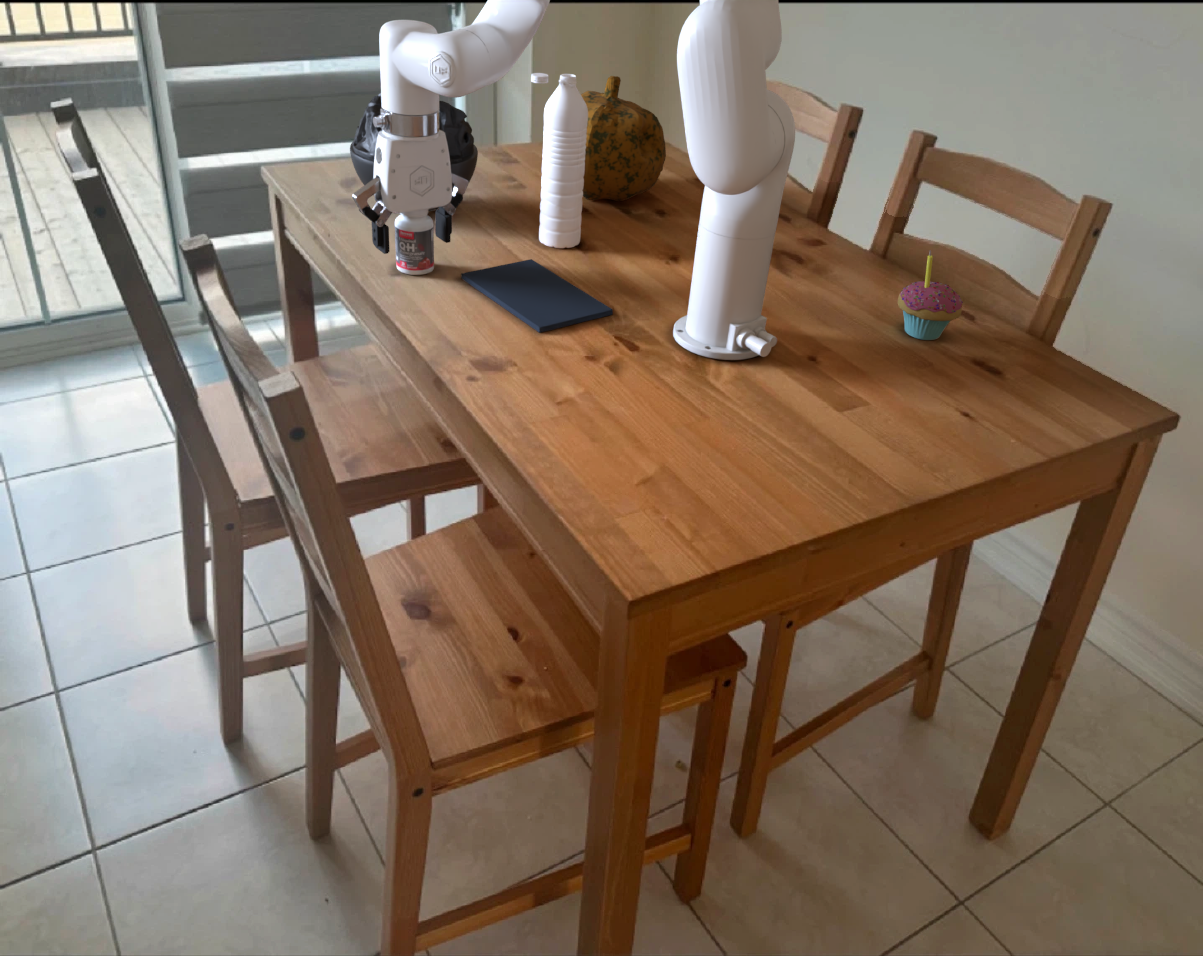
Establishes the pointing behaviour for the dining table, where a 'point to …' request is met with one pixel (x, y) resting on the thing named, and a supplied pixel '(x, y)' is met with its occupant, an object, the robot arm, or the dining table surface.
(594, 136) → the decorative pumpkin
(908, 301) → the cupcake
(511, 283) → the mat
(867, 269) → the dining table surface
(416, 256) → the pill bottle
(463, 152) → the black sculptural bowl
